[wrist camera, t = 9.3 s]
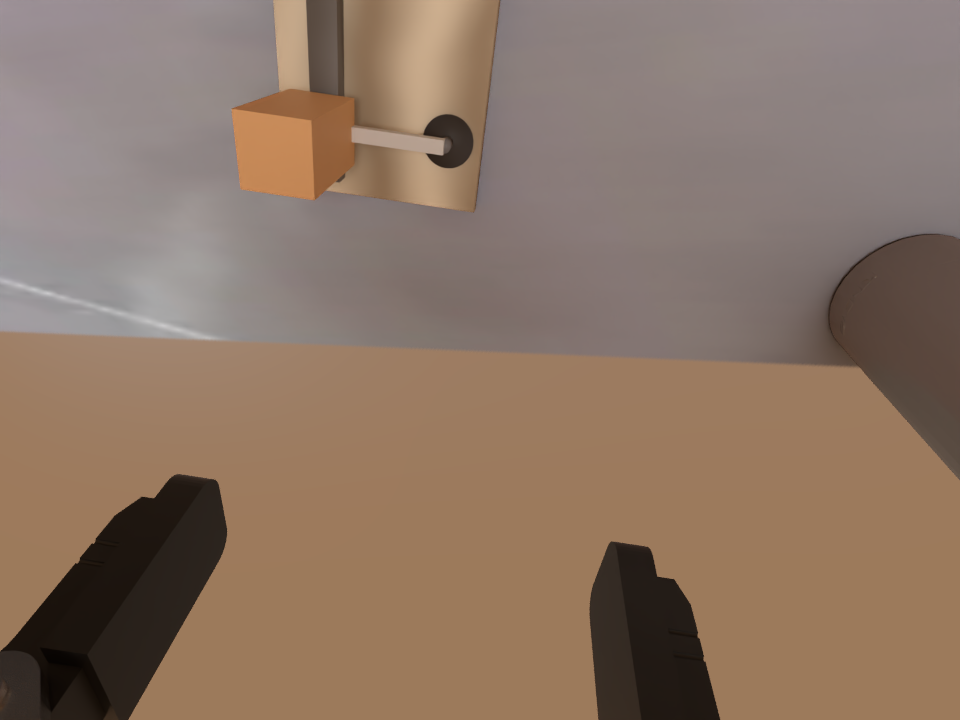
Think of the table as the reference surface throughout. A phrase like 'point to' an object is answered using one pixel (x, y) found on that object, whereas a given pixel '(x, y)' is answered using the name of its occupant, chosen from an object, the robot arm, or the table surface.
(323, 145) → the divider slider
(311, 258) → the table surface
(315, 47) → the pitch plate
